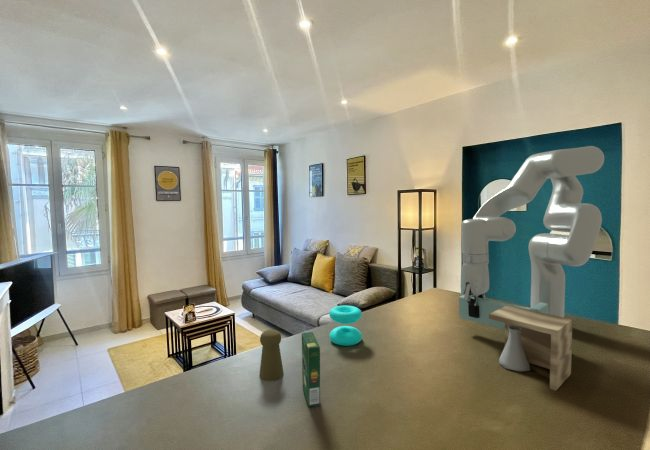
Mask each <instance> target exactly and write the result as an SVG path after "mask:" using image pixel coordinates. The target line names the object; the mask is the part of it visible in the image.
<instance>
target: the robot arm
mask: <svg viewBox="0 0 650 450" xmlns="http://www.w3.org/2000/svg"><path fill="white" fill-rule="evenodd" d="M604 163H605V155H604V152H603V151H602V149H601V148H599V147H597V146H594V145H587V146H581V147H580V146H579V147H573V148H564V149H555V150H549V151H544V152H538V153H534V154H532V155H530V156H529V157H527V158H526V159H525V161H524V162H523V163H522V165H521V166H520V168H519V169H518V171H517V172H516V173H515V174H514V176H513V177H512V179H511V180H510V181H509V183H508V184H507V186H506V187H504V188H503V189H501V190H500V191H499V192H497V193H496V194H495V195H493V196H491V198H489V199H487V201H485V202H484V203H483V204H482V205H481V206H480V208H479V209H478V211H476V213H475V214H474V215H473V217H472V218H468V219H465V220H464V219H463V220H462V222H461V224H460V227H461V230H460V231H461V232H460V233H461V252H462V253H461V255H462V256H461V257H462V258H461V259H462V260H461V261H462V264H461V265H462V266H461V273H460V293H461V295H464V299H465V300H466V301H467V304H468V313H469V316H470V317H474V318H479V305H478V298H483V299H487V298H486V295H487V292H488V291H489V290H490V273H489V271H490V270H489V264H490V259H489V257H490V256H489V255H490V254H489V242H490V241H491V242H492V241H493V242H505V241H508V240H510V239H512V238H513V237H514V236H515V234H516V230H517V227H516V224H515V222H514V221H513V220H512V219H510V218H509V217H508V218H507V217H504V216H502V215H503V214H505V213H506V212H509V211H511V210H514V209H516V208H519V207H522V206H524V205H527V204H529V203H530V202H532V201H533V200H534V199H535V197H536V195H538V193H539V190H540V189H541V188H542V186H544V184H545V183H546V181H547V180H548V179H550V180H551V181H550V182H551V183H552V184H551V185H552V191H551V195H550V198H549V201H548V205H547V207H546V210H545V212H544V213H545V214H544V216H543V220H542V221H543V222H542V223H543V226H544V227H545V228H546V229H547V230H550V231H553V232H559V234H558V233H549V232H548V233H538V234H536V235H534V236H532V237H531V238H530V240H529V242H528V255H529V260H530V268H531V270H530V272H531V275H530V278H531V279H530V308H533V307H534V306H536V305H537V304H539V303H540V302H541V303H546V304H548V314H550V315H555V316H559V317H564V318H565V302H566V301H565V300H566V299H565V298H566V295H565V294H566V274H565V271H564V268H563V266H562V265H565V266H569V267H581V266H583V265H586V263H587V262H588V261H589V259H590V258H591V256H592V253H593V250H594V248H595V245H596V242H597V239H598V236H599V234H600V230H601V227H602V223H603V222H602V221H603V217H602V212H601V211H600V209H599V207H598V206H596V205H595V204H592V203H586V202H585V203H582V200H583V196H584V188H583V185H582V184H581V182H580V181H579V180H578V178H577V177H576V176H583V175H588V174H594V173H596V172H598V171H599V170H600V169H601V168H602V167H603V165H604ZM560 232H561V233H569V235H567V234H560ZM471 297H474V299H473V298H471Z"/></svg>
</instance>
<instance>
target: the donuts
mask: <svg viewBox="0 0 650 450" xmlns="http://www.w3.org/2000/svg"><path fill="white" fill-rule="evenodd" d="M362 316H363V314H362V310H361V309H360V308H358V307H356V306H354V305H347V304H345V305H338V306H334V307H332V308H331V309H330V310H329V317H330V319H331V320H332V321H333V322H335V323H338V324H343V325H340V326H337V327H335V328H333V329H332V330H331V331H330V333H329V339H330V341H331V342H332V343H333V344H335V345H338V346H342V347H343V346H344V347H345V346H346V347H350V346H354V345H357V344H359V342H361V341H362V338H363V334H362V332H361V331H360V330H359V329H358V328H356V327H354V326H351V325H350V324H353V323H357V322H358V321H359V320H361V318H362ZM344 324H345V325H344ZM347 324H348V325H347Z"/></svg>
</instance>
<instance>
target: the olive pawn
mask: <svg viewBox="0 0 650 450" xmlns="http://www.w3.org/2000/svg"><path fill="white" fill-rule="evenodd" d="M259 338H260V339H259V342H260V345H262V346H261V347H262V348H261V358H260V366H259V375H258V376H259V379H261V380H262V381H265V382H275V381H277V380H279V379H282V378H283V376H284V368H283V367H284V366H283V361H282V355H281V348H280V347H281V346H280V343H281V341H282V335H281V332H280V331H278V330H277V329H268V330H264V331H263V332H261V333H260V337H259Z"/></svg>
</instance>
